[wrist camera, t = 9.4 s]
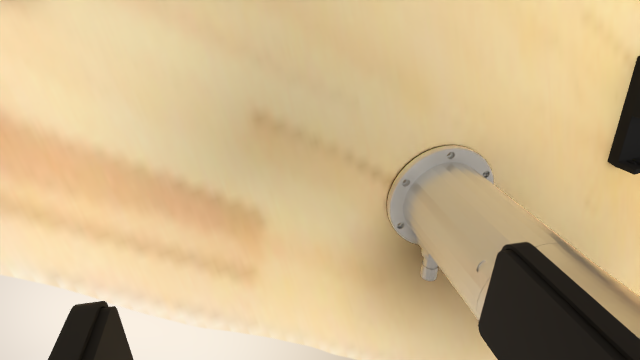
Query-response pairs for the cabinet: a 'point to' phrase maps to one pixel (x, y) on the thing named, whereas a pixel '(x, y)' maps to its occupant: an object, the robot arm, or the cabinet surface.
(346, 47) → the cabinet surface
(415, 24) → the cabinet surface
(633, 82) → the battery charger
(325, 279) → the cabinet surface
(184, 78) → the cabinet surface
